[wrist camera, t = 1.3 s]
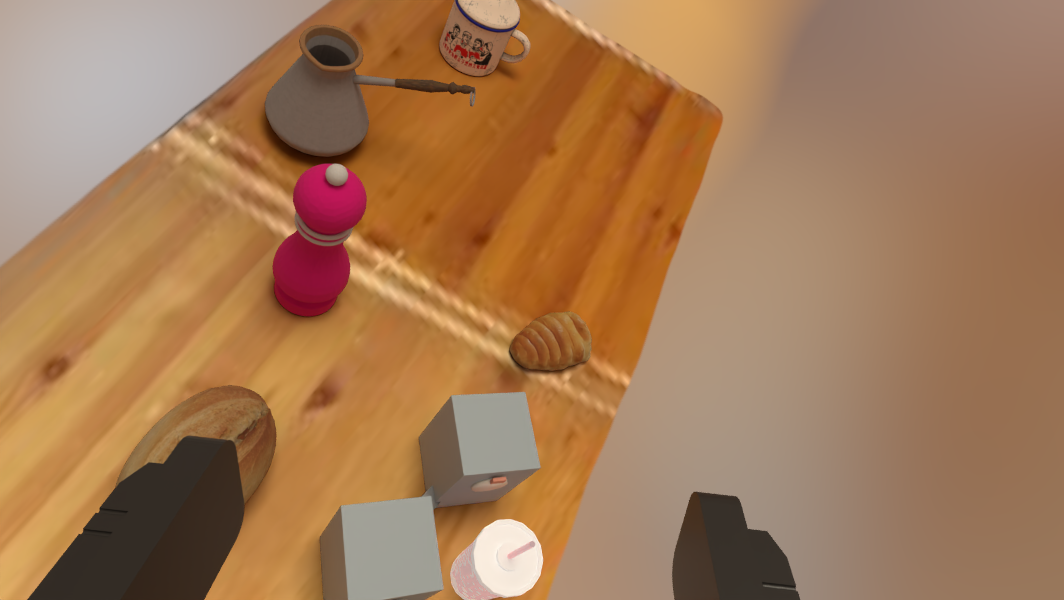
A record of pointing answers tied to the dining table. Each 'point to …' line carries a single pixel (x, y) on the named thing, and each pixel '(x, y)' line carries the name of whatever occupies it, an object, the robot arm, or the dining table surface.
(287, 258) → the pepper mill
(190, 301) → the dining table surface
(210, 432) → the bread roll
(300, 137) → the coffee pot
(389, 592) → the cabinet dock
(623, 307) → the dining table surface
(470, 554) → the beverage cup
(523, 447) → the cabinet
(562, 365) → the pastry
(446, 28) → the teacup with lid
